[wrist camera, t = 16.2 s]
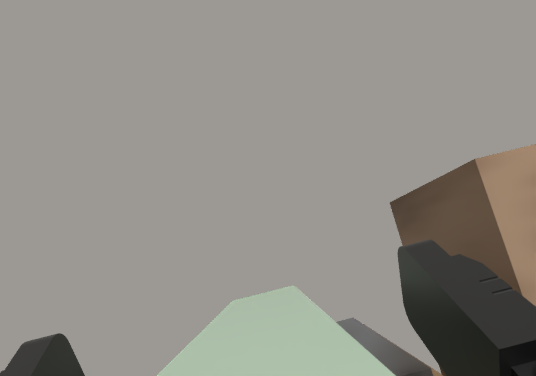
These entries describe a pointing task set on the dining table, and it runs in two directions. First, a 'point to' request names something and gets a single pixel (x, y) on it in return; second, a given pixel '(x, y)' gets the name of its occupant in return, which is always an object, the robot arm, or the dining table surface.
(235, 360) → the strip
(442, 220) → the walnut stand
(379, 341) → the oak block
